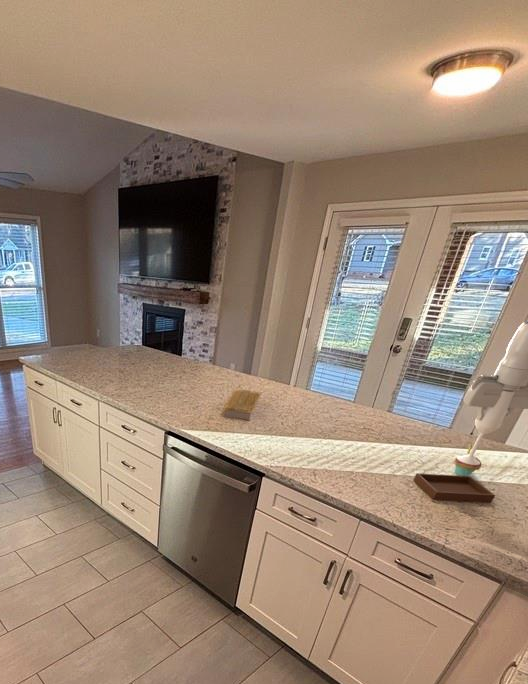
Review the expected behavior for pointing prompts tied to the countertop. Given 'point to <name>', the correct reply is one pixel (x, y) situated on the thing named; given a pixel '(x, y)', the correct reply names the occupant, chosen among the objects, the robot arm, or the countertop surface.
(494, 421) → the champagne flute
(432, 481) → the tray
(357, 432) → the countertop surface
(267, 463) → the countertop surface
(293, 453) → the countertop surface
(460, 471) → the cupcake
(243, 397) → the rafter model
